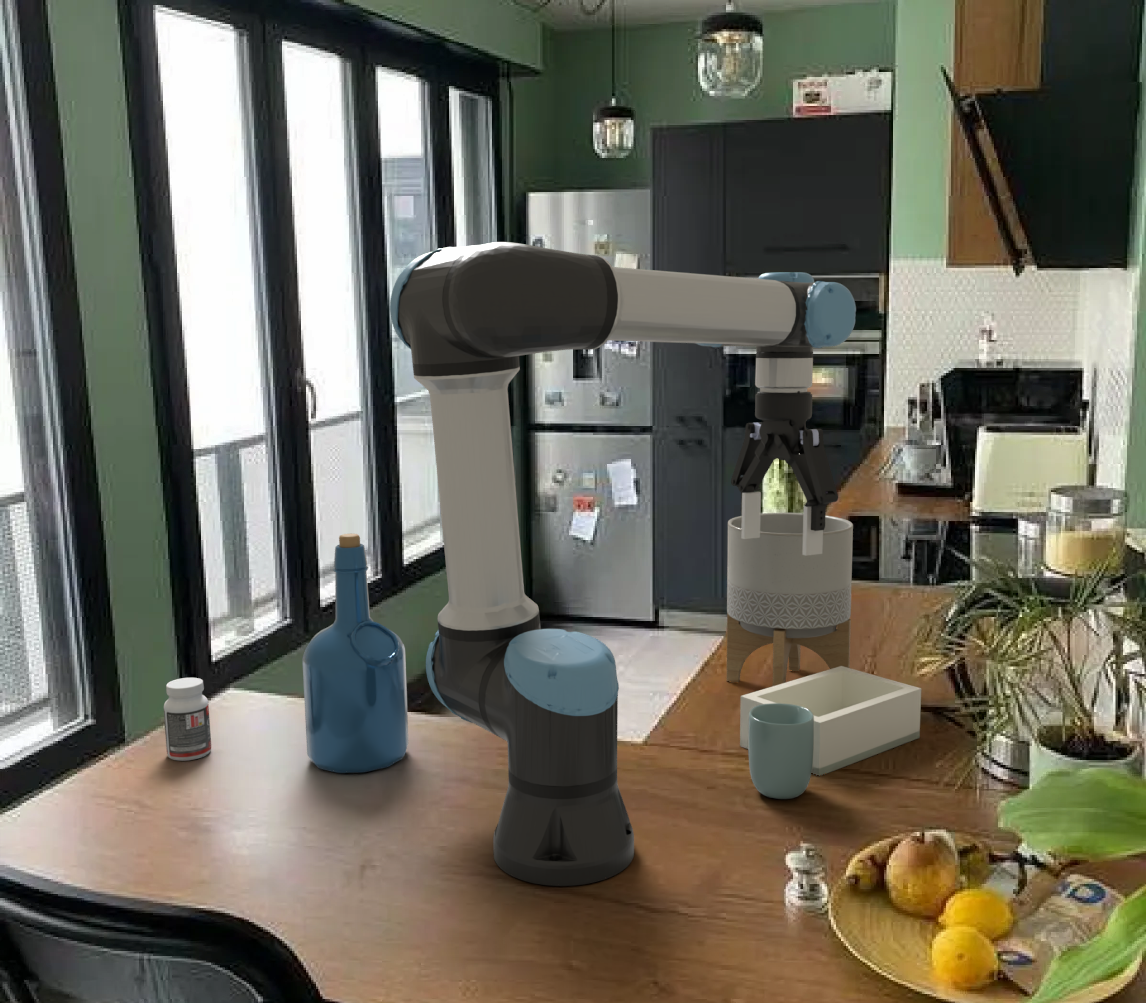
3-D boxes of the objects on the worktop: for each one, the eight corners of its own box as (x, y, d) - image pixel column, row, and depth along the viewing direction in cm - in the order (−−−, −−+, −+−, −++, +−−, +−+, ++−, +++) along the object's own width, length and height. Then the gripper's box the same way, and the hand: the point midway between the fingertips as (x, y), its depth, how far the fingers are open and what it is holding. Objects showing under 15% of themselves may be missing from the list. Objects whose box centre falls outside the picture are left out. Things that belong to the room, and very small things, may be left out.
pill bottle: (219, 753, 152) (215, 682, 151) (180, 765, 148) (175, 692, 147) (198, 743, 156) (193, 673, 155) (159, 754, 152) (154, 683, 151)
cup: (812, 808, 133) (814, 726, 131) (745, 803, 134) (746, 722, 133) (812, 782, 140) (814, 704, 139) (749, 778, 142) (750, 701, 140)
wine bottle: (287, 759, 150) (275, 536, 145) (368, 732, 159) (360, 522, 155) (349, 786, 141) (338, 549, 136) (431, 756, 150) (424, 533, 146)
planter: (842, 711, 166) (846, 536, 162) (715, 698, 172) (716, 530, 168) (853, 673, 184) (858, 515, 180) (738, 663, 190) (740, 510, 186)
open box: (818, 776, 142) (820, 722, 141) (740, 746, 153) (740, 696, 152) (919, 737, 155) (921, 688, 154) (840, 712, 165) (841, 665, 164)
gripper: (869, 393, 143) (863, 559, 146) (751, 385, 165) (748, 529, 168) (822, 395, 139) (817, 564, 142) (708, 386, 161) (706, 534, 164)
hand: (780, 546), depth 155 cm, fingers open, 13 cm apart
